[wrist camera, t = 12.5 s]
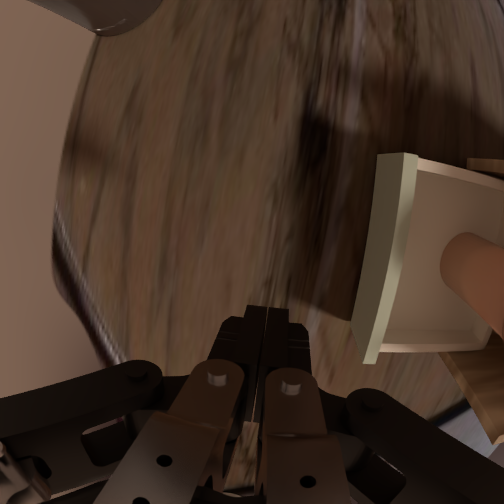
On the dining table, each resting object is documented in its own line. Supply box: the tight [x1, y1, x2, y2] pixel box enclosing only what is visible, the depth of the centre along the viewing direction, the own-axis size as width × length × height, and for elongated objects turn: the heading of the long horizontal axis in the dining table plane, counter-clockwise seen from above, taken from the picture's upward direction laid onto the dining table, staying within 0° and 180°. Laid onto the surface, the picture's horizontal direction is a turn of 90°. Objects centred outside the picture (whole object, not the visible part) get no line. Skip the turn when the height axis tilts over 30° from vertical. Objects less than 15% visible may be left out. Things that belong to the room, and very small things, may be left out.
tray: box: [350, 153, 504, 364], centre depth 21 cm, size 15×13×6 cm
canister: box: [440, 232, 504, 342], centre depth 16 cm, size 6×6×11 cm
